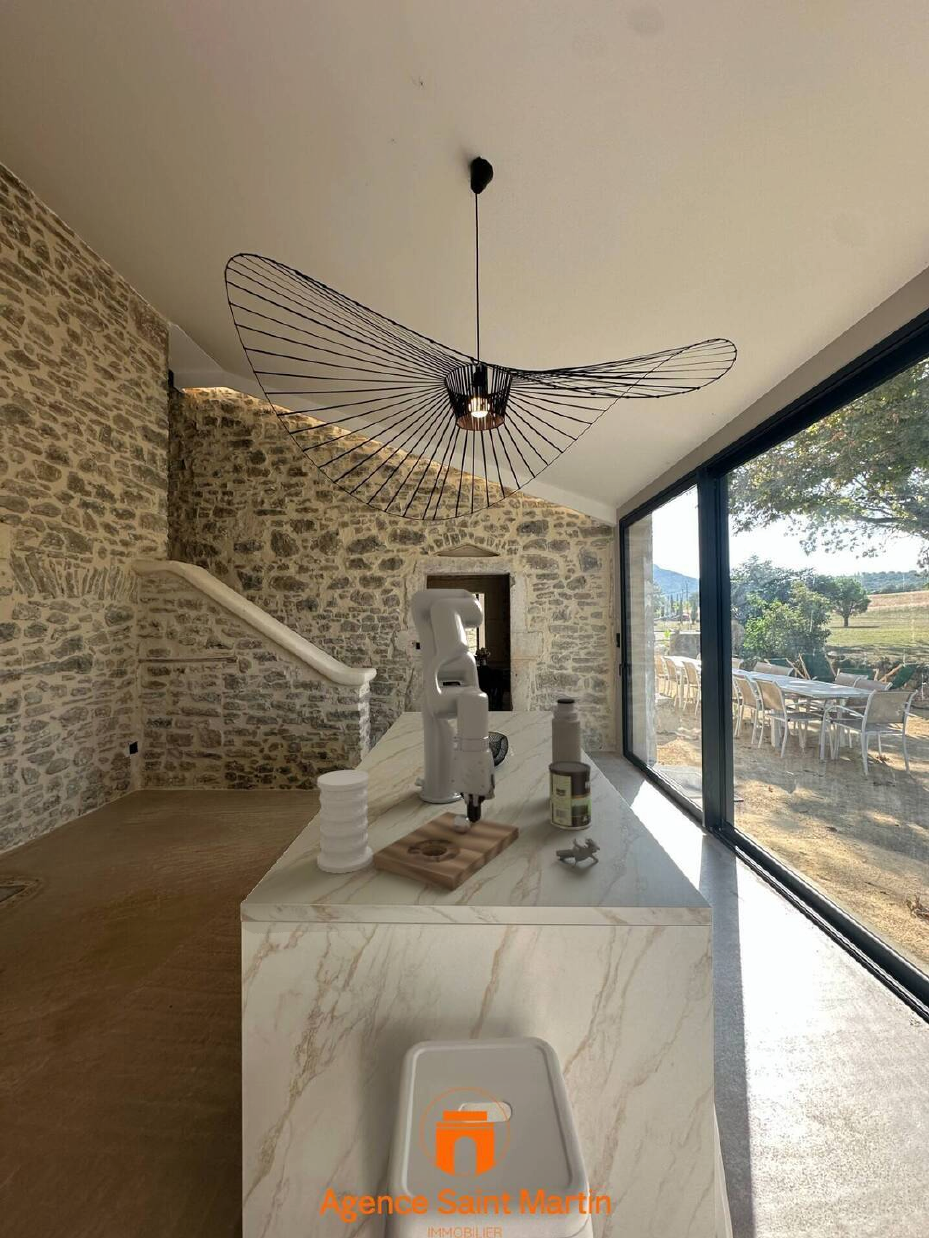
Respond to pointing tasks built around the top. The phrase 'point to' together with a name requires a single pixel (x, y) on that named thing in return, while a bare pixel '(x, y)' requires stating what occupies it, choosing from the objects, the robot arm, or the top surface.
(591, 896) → the top surface
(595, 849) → the grey toy figure
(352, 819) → the decorative container
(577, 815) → the coffee can
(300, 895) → the top surface
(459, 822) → the ball
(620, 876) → the top surface
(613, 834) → the top surface
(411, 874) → the deck
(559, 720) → the thermos bottle
